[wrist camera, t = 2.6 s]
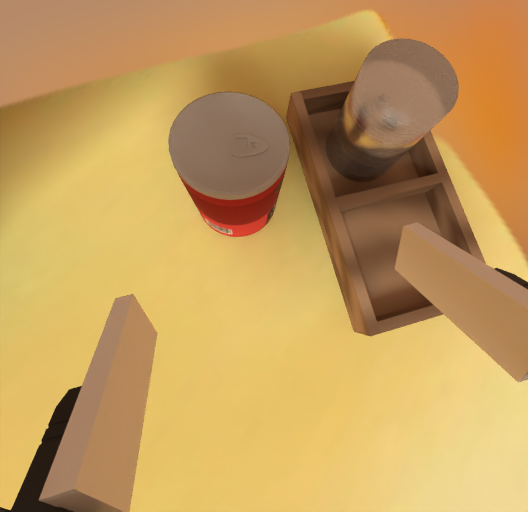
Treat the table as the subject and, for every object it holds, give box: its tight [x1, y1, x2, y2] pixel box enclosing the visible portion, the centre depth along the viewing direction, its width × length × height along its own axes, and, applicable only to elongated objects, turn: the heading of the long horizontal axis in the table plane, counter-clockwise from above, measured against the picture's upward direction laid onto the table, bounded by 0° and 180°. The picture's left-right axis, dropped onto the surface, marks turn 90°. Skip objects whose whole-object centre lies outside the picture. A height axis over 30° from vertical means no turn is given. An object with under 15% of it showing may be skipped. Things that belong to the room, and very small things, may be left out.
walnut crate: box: [286, 81, 486, 336], centre depth 26 cm, size 25×13×4 cm, turn 15°
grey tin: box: [326, 39, 458, 182], centre depth 24 cm, size 8×8×9 cm
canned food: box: [169, 92, 290, 237], centre depth 22 cm, size 8×8×11 cm
